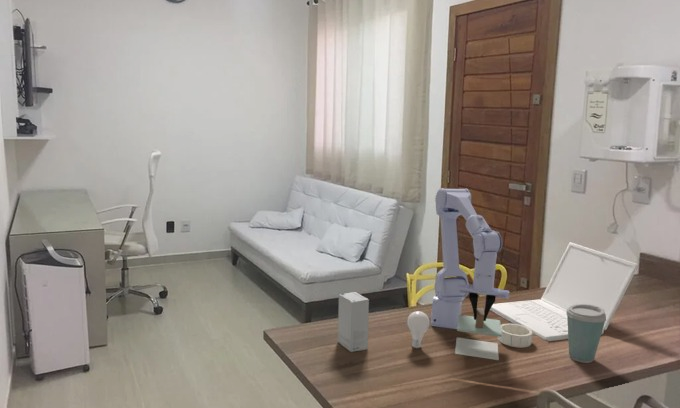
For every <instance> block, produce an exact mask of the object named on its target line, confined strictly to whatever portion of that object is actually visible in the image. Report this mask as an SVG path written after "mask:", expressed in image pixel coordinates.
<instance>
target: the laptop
mask: <svg viewBox="0 0 680 408" xmlns="http://www.w3.org/2000/svg"><path fill="white" fill-rule="evenodd" d="M638 267H639V263H636V262H633V261H629V260H627V259H624V258H621V257H618V256H616V255H611V254H608V253H606V252H602V251H600V250H595V249H593V248H590V247H586V246H584V245H580V244H578V243H575V242H571V241H570V242H569V243H568V245H567V246H566V248H565V251H564V252H563V253H562V256H561V259H560V260H559V262H558V264H557V266H556V268H555V270H554V272H553V274H552V276H551V278H550V280H549V282H548V284H547V286H546V288H545V290H544V291H543V294H542V296H541V298H540V299H532V300H531V299H529V300H520V301H510V302H501V303H498V302H497V303H494V304H493V305H492V307H491V309H490V310H489V312H493V313H494V314H495V315H498V316H499V317H501V318H503V319H505V320H506V321H508V322H510V323H511V324H518V325H522V326H525V327H527V328H529V329H530V330H532V334H534V335H536V336H537V337H539V338H540V339H543V340H545V341H547V342H552V341H553V342H554V341H560V340H568V321H567V315H566V311H567V309H568V308H569V307H570V306H572V305H576V304H590V305H594V306H597V307H600V308H602V309H604V312H605V315H606V321H605V323H604V326H603V330H602V333H601V335H604V331H606V330H607V329H608V327H609V325H610V323H611V322H612V319H613V317H614V315H615V314H616V311H617V310H618V307H619V305H620V303H621V302H622V299H623V298H624V296H625V293H626V291H627V289H628V287H629V286H630V284H631V281H632V279H633V278H634V276H635V273H636V272H637V269H638Z"/></svg>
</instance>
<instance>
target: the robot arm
mask: <svg viewBox="0 0 680 408" xmlns="http://www.w3.org/2000/svg"><path fill="white" fill-rule="evenodd" d="M435 194H436V195H435V197H434V199H435V200H434V201H435V210H436V215H437V216H439V218H440V231H441V233H440V234H441V249H442V267H443V268H442V269H440V270H439V271H438V272H437V273H436V274H435V281H434V293H435V295H434V296H432V297H433V298H432V306H431V313H430V326H431V327H432V326H433V327H438V328H439V327H440V328H445V329H446V328H447V329H453V330H457V328H458V318H459V315H462V308H463V307H462V306H463V301H464V300H465V298H466V297H468V299H469V301H470V304H471V307H472V312H473V317H474V320H476V318H477V307H478V303H479V301H478V300H479V296H485V303H484V304H485V305H484V321H486V318H487V317H488V316H489V312H490V309H491V307H492V305H493V304H495V302H496V298H501V299H505V300H509V299H510V290H508V289H507V290H506V289H500V288H496V287H495V286H494V285H495V274H496V266H497V257H498V253H500V252H501V250H502V248H503V239H502V235H501V234H500V232H499V231H495V230H494V229H493V230H492V228H491V227H490V226H489V224H488V223H487V221H486V219H485V218H484V216H483V215H481V214H477V212H476V210H475V208H474V206H473V204H472V193H471V192H470V189H468V188H443V187H440V188H439V189H437V192H436V193H435ZM460 216H462V217H463V219H464V220H465V221H466V222H465V228H466V230H467V231H468V233H469V235H470V236H471V238H472V246H473V256H474V258H475V260H474V269H473V279H472V284H469V280H468V275H467V273H466V272H465V271H464V270H462V268H461V267H460V260H459V257H460V256H459V245H458V243H459V242H458V231H457V230H458V229H457V219H458V218H459V217H460ZM487 319H488V318H487Z"/></svg>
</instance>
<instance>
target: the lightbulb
mask: <svg viewBox="0 0 680 408" xmlns="http://www.w3.org/2000/svg"><path fill="white" fill-rule="evenodd" d="M406 320H407V321H406V323H407V327H408V329H409V331H410V333H411V334H410V335H411V338H412V339H411V340H412V341H411V346H412V348H415V349H420V348H422V340H423V338H424V335H425V333H426V331H428V329H429V328H430V325H431V320H430V317H429V316H428V314H427V313H426V312H424V311H421V310H416V311H413V312H411V313H410V314H409V315H408V317H407V319H406Z"/></svg>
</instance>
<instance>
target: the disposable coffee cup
mask: <svg viewBox="0 0 680 408" xmlns="http://www.w3.org/2000/svg"><path fill="white" fill-rule="evenodd" d="M566 315H567V321H568V339H567V340H568V341H567V342H568V355H569V357H570V359H571V360H573V361H574V362H575V361H576V362H577V363H578V362H579V363H583V364H586V363H588V364H589V363H592V362H594V360H595V358H596V354H597V350H598V347H599V344H600V340H601V336H602V334H601V333H602V330H603V326H604V323H605V321H606V315H605V312H604V309H602V308H600V307H597V306H594V305H590V304H576V305H572V306H570V307H569V308H568V309H567V311H566Z"/></svg>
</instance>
